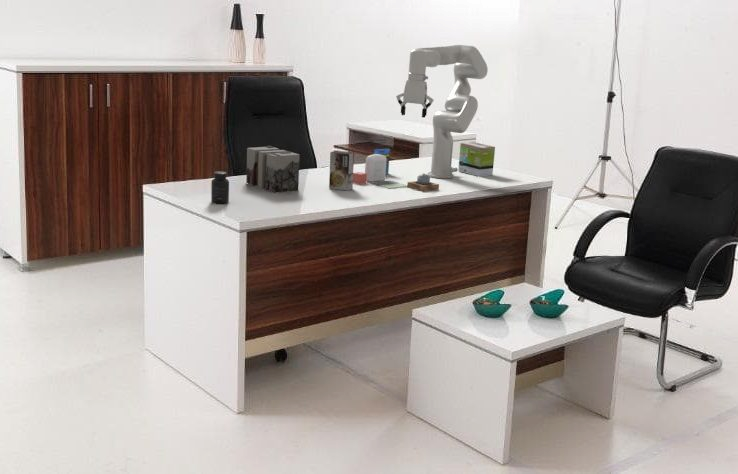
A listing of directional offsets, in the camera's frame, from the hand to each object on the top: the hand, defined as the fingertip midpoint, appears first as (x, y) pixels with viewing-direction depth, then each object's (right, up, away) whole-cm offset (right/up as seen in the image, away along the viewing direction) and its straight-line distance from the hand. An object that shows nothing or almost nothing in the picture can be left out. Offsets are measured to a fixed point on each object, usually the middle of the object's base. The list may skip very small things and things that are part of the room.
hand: (413, 116), depth 411 cm
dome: (+4, -31, -4) cm, 32 cm away
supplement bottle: (-78, -41, -55) cm, 104 cm away
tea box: (+33, -23, +43) cm, 59 cm away
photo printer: (-17, -29, +8) cm, 35 cm away
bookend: (-62, -33, -19) cm, 73 cm away
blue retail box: (-15, -24, +27) cm, 40 cm away
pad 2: (-8, -32, -2) cm, 33 cm away
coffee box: (-32, -34, -14) cm, 49 cm away
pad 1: (-13, -30, +3) cm, 33 cm away
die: (-24, -30, +1) cm, 39 cm away
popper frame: (+4, -33, -3) cm, 33 cm away
